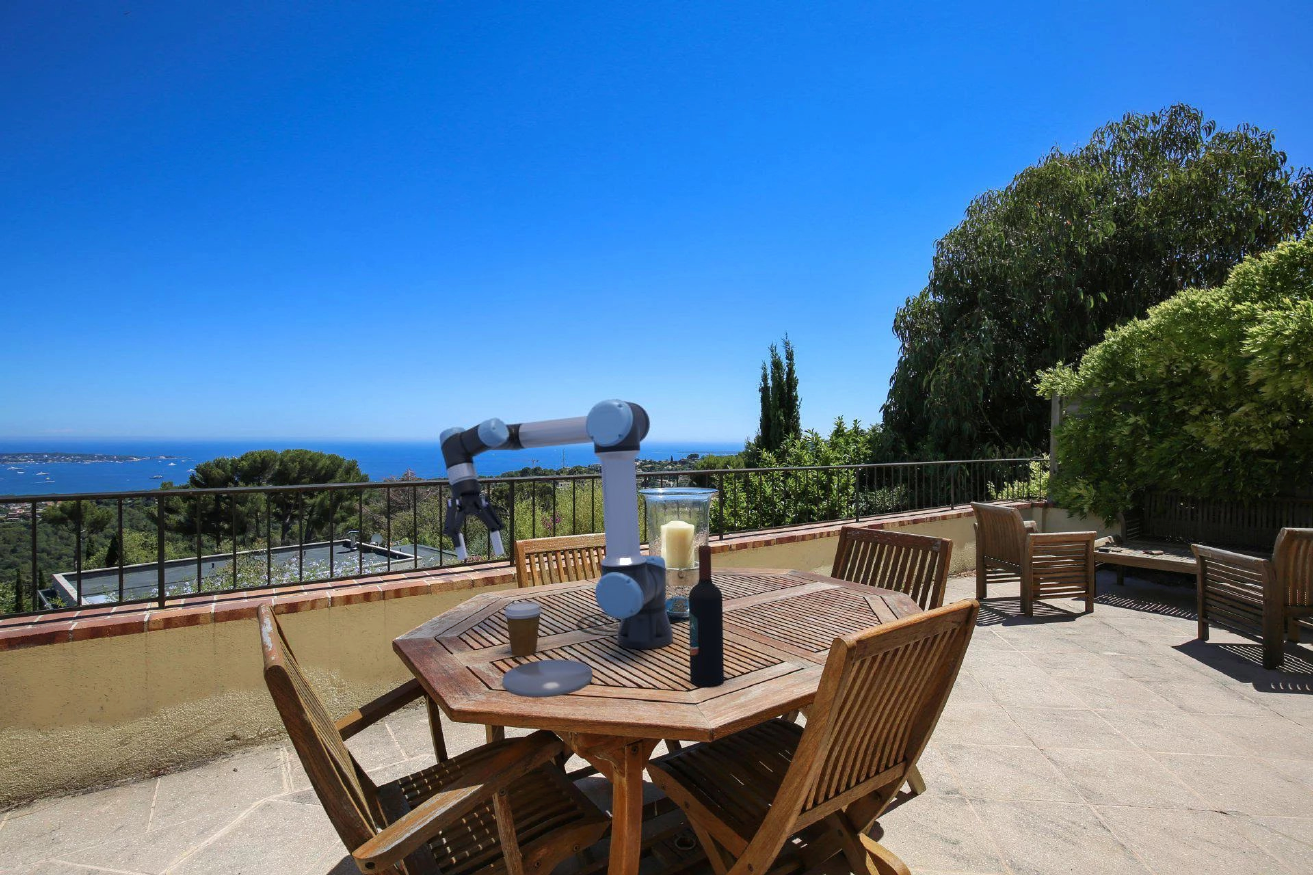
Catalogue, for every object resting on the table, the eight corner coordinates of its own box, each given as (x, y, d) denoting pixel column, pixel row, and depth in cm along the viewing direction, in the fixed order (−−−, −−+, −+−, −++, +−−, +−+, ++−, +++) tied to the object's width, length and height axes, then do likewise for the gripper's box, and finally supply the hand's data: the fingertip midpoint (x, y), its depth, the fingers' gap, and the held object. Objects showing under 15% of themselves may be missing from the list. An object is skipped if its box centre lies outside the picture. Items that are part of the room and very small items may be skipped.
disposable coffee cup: (507, 647, 165) (507, 602, 166) (544, 645, 166) (543, 600, 166) (502, 659, 156) (501, 611, 156) (540, 657, 157) (540, 609, 157)
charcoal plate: (600, 665, 150) (600, 660, 150) (580, 698, 131) (580, 692, 131) (520, 663, 153) (520, 658, 153) (488, 695, 133) (488, 689, 133)
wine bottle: (714, 689, 134) (712, 550, 135) (684, 683, 138) (681, 547, 139) (729, 678, 140) (727, 545, 141) (700, 672, 145) (697, 543, 145)
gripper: (487, 487, 184) (504, 557, 179) (418, 486, 162) (435, 565, 157) (505, 478, 181) (523, 549, 175) (437, 476, 159) (456, 556, 154)
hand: (482, 557), depth 166 cm, fingers open, 13 cm apart
